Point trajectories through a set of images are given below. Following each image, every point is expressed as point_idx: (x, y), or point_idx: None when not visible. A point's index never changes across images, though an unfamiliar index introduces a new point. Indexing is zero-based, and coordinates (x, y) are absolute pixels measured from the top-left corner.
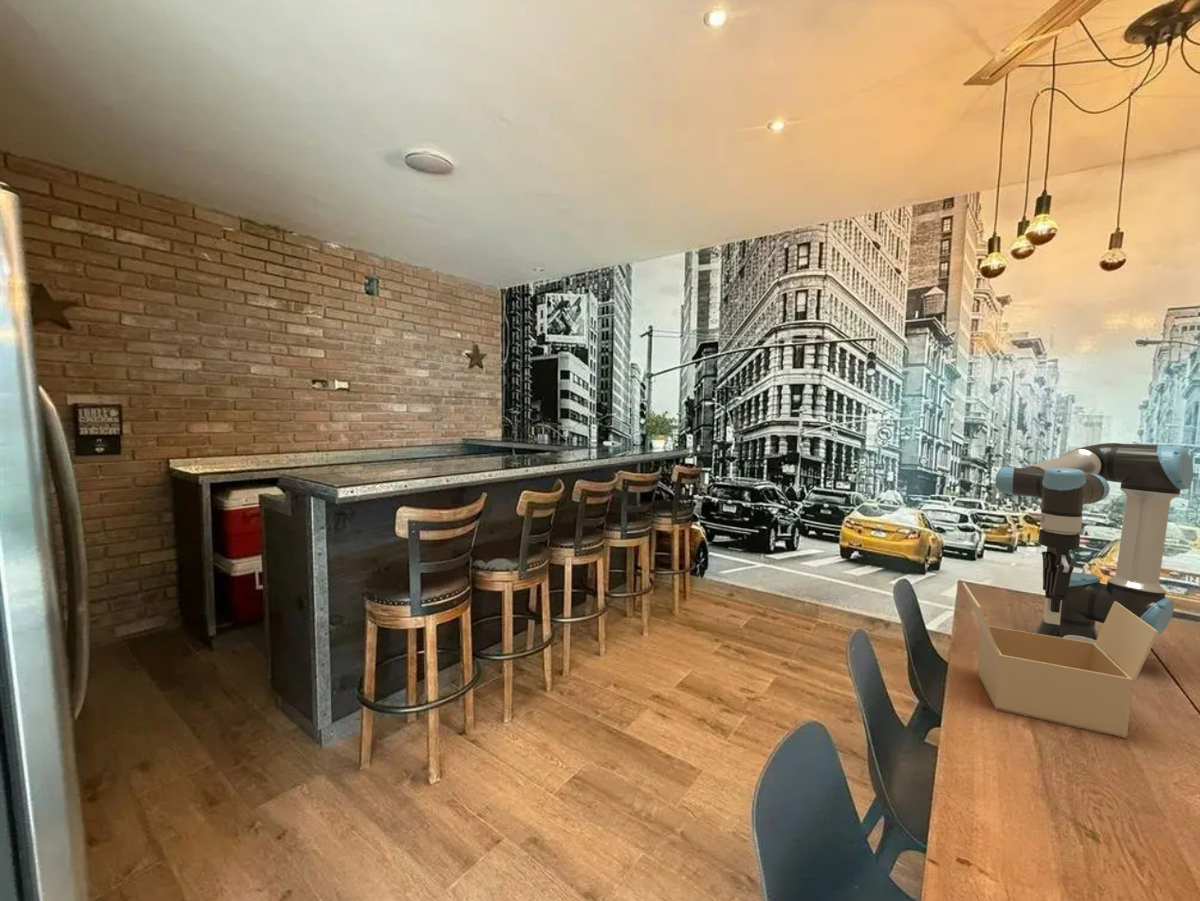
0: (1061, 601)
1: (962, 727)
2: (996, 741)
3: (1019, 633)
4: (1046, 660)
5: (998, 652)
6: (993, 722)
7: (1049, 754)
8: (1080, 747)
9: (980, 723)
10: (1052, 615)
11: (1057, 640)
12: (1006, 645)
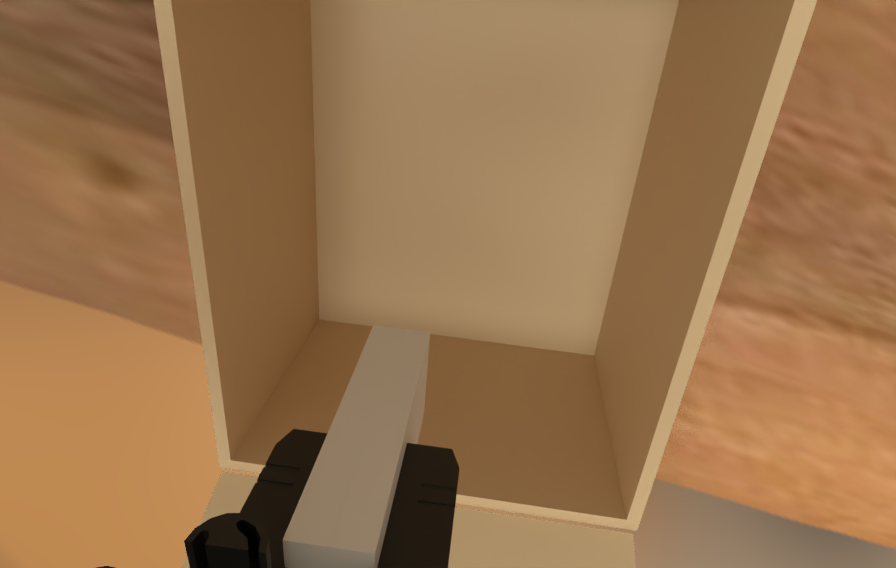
0: (380, 530)
1: (744, 478)
2: (809, 421)
3: (218, 313)
4: (267, 136)
5: (633, 544)
6: (690, 391)
7: (865, 305)
8: (803, 183)
9: (707, 427)
10: (414, 435)
11: (197, 121)
12: (260, 317)
